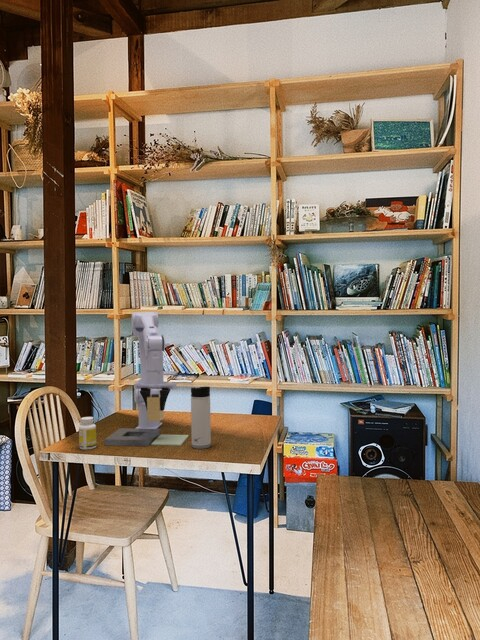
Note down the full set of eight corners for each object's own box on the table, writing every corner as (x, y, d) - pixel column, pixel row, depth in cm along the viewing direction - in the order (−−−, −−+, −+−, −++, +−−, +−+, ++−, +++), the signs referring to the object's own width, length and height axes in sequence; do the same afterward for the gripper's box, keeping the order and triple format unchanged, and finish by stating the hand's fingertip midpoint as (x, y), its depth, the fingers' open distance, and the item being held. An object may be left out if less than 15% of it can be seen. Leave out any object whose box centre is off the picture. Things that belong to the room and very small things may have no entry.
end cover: (151, 417, 178) (150, 393, 178) (163, 418, 177) (163, 393, 177) (147, 420, 174) (146, 395, 173) (160, 420, 173) (159, 395, 173)
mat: (160, 435, 182) (160, 434, 182) (188, 436, 181) (188, 435, 181) (151, 445, 170) (151, 443, 170) (180, 445, 169) (180, 444, 169)
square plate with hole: (120, 433, 185) (120, 428, 185) (160, 434, 183) (160, 429, 183) (104, 445, 170) (104, 439, 170) (148, 446, 168) (148, 440, 168)
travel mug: (196, 450, 163) (195, 387, 162) (188, 445, 169) (187, 385, 168) (214, 447, 166) (213, 386, 165) (206, 442, 172) (205, 383, 171)
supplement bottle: (99, 445, 170) (98, 416, 170) (92, 450, 165) (92, 419, 164) (83, 445, 171) (82, 416, 170) (76, 449, 165) (75, 419, 165)
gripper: (130, 371, 172) (131, 412, 172) (172, 372, 170) (173, 412, 171) (137, 369, 179) (137, 407, 179) (177, 369, 177) (178, 408, 178)
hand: (155, 409), depth 175 cm, fingers closed on end cover, 4 cm apart
